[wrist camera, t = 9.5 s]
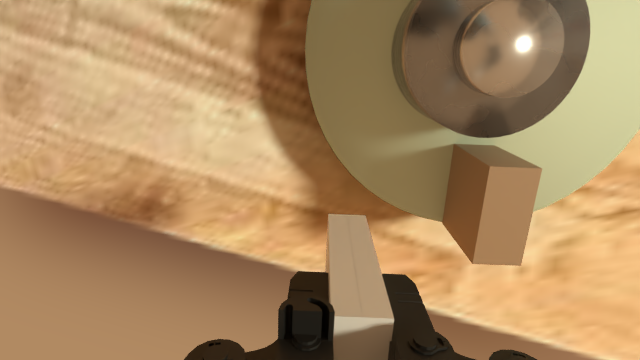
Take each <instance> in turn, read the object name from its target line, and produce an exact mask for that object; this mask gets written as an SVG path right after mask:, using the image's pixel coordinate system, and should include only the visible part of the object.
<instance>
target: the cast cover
mask: <svg viewBox="0 0 640 360" xmlns="http://www.w3.org/2000/svg"><path fill="white" fill-rule="evenodd" d="M589 42H590V16H589V10H588V5H587V2H586V0H411V1H410V2H409V4H408V5H407V7H406V8H405V10H404V11H403V13H402V15H401V17H400V19H399V21H398V23H397V26H396V29H395V32H394V37H393V42H392V51H391V58H392V68H393V74H394V77H395V80H396V83H397V85H398V87H399V89H400V91H401V93H402V95H403V96H404V98H405V99H406V100H407V101H408V103H409V104H410V105H411V106H412V107H413V108H414V109H416V110H417V111H418V112H419V113H421V114H422V115H424V116H426V117H427V118H429V119H431V120H433V121H435V122H437V123H438V124H440V125H442V126H444V127H446V128H448V129H450V130H452V131H454V132H456V133H459V134H463V135H466V136H471V137H477V138H494V137H502V136H506V135H511V134H514V133H517V132H520V131H522V130H524V129H526V128H528V127H531V126H533V125H534V124H536V123H537V122H539V121H541V120H542V119H544V118H545V117H546V116H547V115H549V114H550V113H551V112H552V111H553V110H554V109H555V108H556V107H557V106H558V105H559V104H560V103H561V102H562V101H563V100H564V99H565V97H566V96H567V95H568V94H569V92H570V91H571V89H572V88H573V86H574V84H575V83H576V81H577V79H578V77H579V75H580V73H581V71H582V68H583V66H584V63H585V60H586V57H587V52H588V48H589Z"/></svg>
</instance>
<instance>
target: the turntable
mask: <svg viewBox="0 0 640 360" xmlns="http://www.w3.org/2000/svg"><path fill="white" fill-rule="evenodd" d="M410 1H411V0H312V1H311V6H310V10H309V15H308V20H307V30H306V41H305V60H306V75H307V81H308V87H309V94H310V98H311V101H312V105H313V108H314V111H315V115H316V118H317V120H318V122H319V125H320V127H321V129H322V131H323V134H324V136H325V138H326V140H327V142H328V143H329V145H330V146H331V148H332V150H333V151H334V153H335V155H336V156H337V158H338V159H339V160H340V161H341V163H342V164H343V165H344V166H345V167H346V169H347V170H348V171H349V172H350V174H351V175H352V176H354V177H355V178H356V179H357V180H358V181H359V182H360V183H361V184H362V185H363V186H364V187H365V188H366V189H368V190H369V191H371V192H372V193H373V194H375V195H376V196H378V197H379V198H381V199H382V200H383V201H385V202H387V203H389V204H391V205H393V206H395V207H397V208H399V209H401V210H403V211H406V212H408V213H411V214H414V215H416V216H419V217H423V218H427V219H431V220H436V221H440V222H442V223H443V225H444V226H445V227H446V229H447V230H448V231H449V233H450V234H451V235H452V237H453V238H454V240H455V241H456V242H457V244H458V245H459V246H460V248H461V249H462V250H463V252H464V253H465V254H466V256H467V257H468V258H469V260H470V261H471V262H472V264H490V265H516V266H521V263H522V258H523V254H524V249H525V245H526V240H527V235H528V231H529V226H530V222H531V217H532V213H533V212H534V211H537V210H539V209H542V208H545V207H547V206H549V205H551V204H553V203H555V202H557V201H559V200H561V199H563V198H565V197H566V196H568V195H570V194H571V193H573V192H574V191H576V190H577V189H579V188H580V187H582V186H583V185H585V184H586V183H588V182H589V181H590V180H591V179H593V178H594V177H595V176H596V175H597V174H599V173H600V172H601V171H602V170H604V169H605V168H606V167H607V166H608V165H609V164H610V163H611V162H612V161H613V160H614V159H615V158H616V157H617V156H618V155H619V154H620V153H621V152H622V151H623V149H624V148H625V147H626V146H627V144H628V143H629V142H630V141H631V139H632V138H633V137H634V136H635V134H636V133H637V132H638V131H639V129H640V0H586V2H587V5H588V10H589V16H590V42H589V48H588V52H587V57H586V60H585V63H584V66H583V68H582V71H581V73H580V75H579V77H578V79H577V81H576V83H575V84H574V86H573V88H572V89H571V91H570V92H569V94H568V95H567V96H566V97H565V99H564V100H563V101H562V102H561V103H560V104H559V105H558V106H557V107H556V108H555V109H554V110H553V111H552V112H551V113H550V114H549V115H547V116H546V117H545V118H544V119H542V120H541V121H539V122H537V123H536V124H534V125H533V126H531V127H528V128H526V129H524V130H522V131H520V132H517V133H514V134H511V135H506V136H502V137H494V138H477V137H471V136H466V135H463V134H459V133H456V132H454V131H452V130H450V129H448V128H446V127H444V126H442V125H440V124H438V123H437V122H435V121H433V120H431V119H429V118H427V117H426V116H424V115H422V114H421V113H419V112H418V111H417V110H416V109H414V108H413V107H412V106H411V105H410V104H409V103H408V101H407V100H406V99H405V98H404V96H403V95H402V93H401V91H400V89H399V87H398V85H397V83H396V80H395V77H394V74H393V68H392V58H391V51H392V42H393V37H394V32H395V29H396V26H397V23H398V21H399V19H400V17H401V15H402V13H403V11H404V10H405V8H406V7H407V5H408V4H409V2H410Z"/></svg>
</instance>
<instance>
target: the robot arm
mask: <svg viewBox="0 0 640 360" xmlns="http://www.w3.org/2000/svg"><path fill="white" fill-rule="evenodd" d="M278 317H279V318H278V339H277V340H276V341H275V342H274V343H273V344H271V345H269V346H267V347H265V348H262V349H259V350H255V351H251V352H245V351H244V349H243V348H242V347H241V346H240V345H239V344H238V343H236V342H233V341H231V340H223V339H217V340H212V341H207V342H205V343H203V344H201V345H199V346H197V347H196V348H195V349H194V350H192V351H191V352H190V353H189V354H188V356H187V357H186V358H185V359H184V360H475V359H471V358H468V357H465V356H462V355H459V354H457V353H455V352H454V350H453V348H452V346H451V345H450V343H449V342H448V340H447V339H446V338H444V337H443V336H442V335H441V334H439V333H437V332H435V330H434V329H433V325H432V323H431V321H430V318H429V316H428V314H427V311H426V309H425V306H424V304H423V301H422V299H421V297H420V295H419V292H418V290H417V287H416V285H415V283H414V282H413V281H412V280H410V279H409V278H408V277H407V276H406V275H400V274H382V273H381V269H380V266H379V262H378V259H377V255H376V251H375V248H374V244H373V240H372V237H371V233H370V230H369V226H368V222H367V219H366V215H345V214H328V230H327V250H326V269H325V272H302V271H298V272H297V273H296V274H295V275H294V277H293V278H292V279H291V280H290V286H289V293H288V299H287V300H286V301H284V302H283V303H282V304H281V306H280V308H279V316H278ZM489 360H537V359H535V358H533V357H531V356H529V355H527V354H525V353H522V352H518V351H514V350H500V351H497V352H494V353H493V354H492V355H491V357H490V358H489Z"/></svg>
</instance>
